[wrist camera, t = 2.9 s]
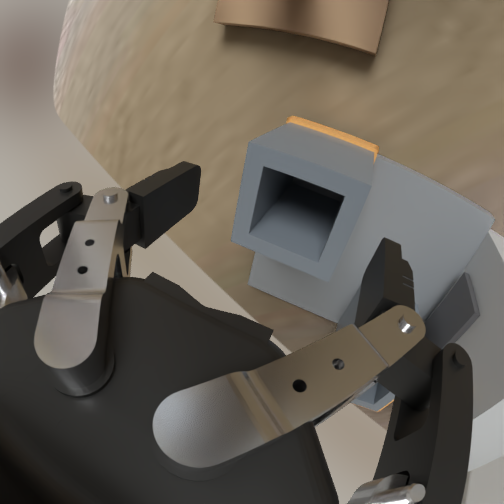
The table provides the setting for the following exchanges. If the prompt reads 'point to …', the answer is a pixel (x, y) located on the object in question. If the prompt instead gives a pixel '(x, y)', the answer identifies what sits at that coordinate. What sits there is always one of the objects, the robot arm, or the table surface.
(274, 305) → the table surface
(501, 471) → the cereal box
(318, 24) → the pin board
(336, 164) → the sleeve
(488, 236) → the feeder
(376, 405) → the sleeve
